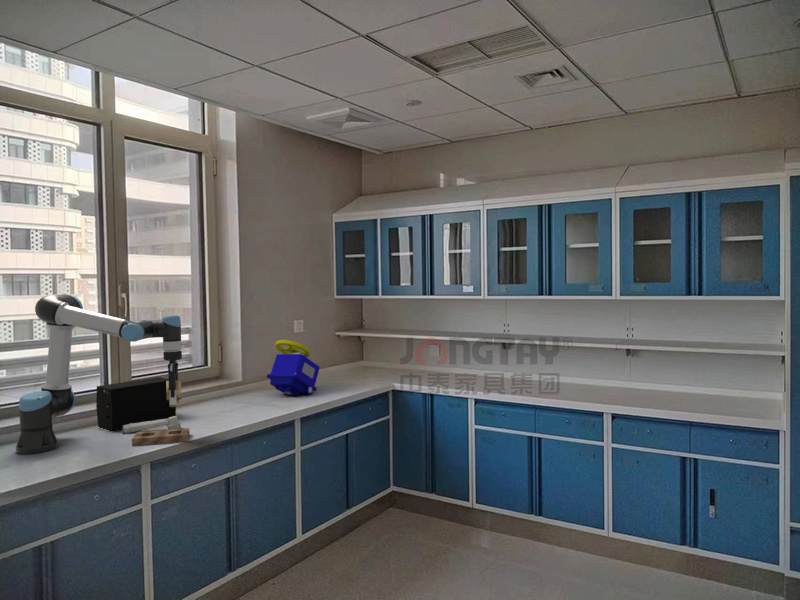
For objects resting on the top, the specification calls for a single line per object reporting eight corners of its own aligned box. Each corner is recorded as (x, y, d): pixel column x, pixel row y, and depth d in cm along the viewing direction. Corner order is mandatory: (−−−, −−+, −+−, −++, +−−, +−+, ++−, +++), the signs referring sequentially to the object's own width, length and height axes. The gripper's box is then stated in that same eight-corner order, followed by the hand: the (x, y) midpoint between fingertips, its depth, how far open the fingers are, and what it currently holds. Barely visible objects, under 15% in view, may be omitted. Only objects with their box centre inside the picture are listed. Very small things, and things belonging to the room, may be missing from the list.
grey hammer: (123, 423, 275) (179, 412, 281) (126, 437, 275) (182, 426, 282) (121, 426, 270) (178, 414, 276) (123, 440, 270) (181, 428, 277)
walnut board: (132, 445, 251) (131, 438, 251) (137, 438, 262) (137, 431, 262) (186, 441, 256) (186, 434, 256) (189, 434, 268) (189, 428, 268)
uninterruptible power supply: (176, 418, 299) (175, 379, 298) (109, 433, 273) (107, 390, 272) (159, 414, 310) (158, 376, 309) (93, 427, 283) (92, 386, 283)
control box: (287, 386, 338) (302, 338, 351) (253, 385, 351) (268, 340, 365) (313, 402, 357) (326, 356, 370) (279, 401, 370) (293, 357, 384)
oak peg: (165, 408, 256) (165, 382, 256) (167, 405, 262) (167, 380, 262) (181, 406, 258) (180, 381, 258) (182, 404, 264) (181, 379, 264)
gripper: (179, 352, 251) (180, 406, 252) (183, 347, 269) (185, 398, 270) (160, 353, 249) (162, 408, 250) (166, 348, 268) (167, 399, 268)
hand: (174, 402), depth 260 cm, fingers closed on oak peg, 6 cm apart
